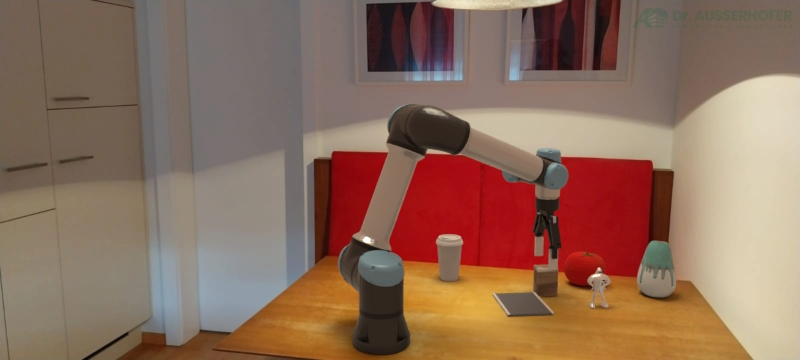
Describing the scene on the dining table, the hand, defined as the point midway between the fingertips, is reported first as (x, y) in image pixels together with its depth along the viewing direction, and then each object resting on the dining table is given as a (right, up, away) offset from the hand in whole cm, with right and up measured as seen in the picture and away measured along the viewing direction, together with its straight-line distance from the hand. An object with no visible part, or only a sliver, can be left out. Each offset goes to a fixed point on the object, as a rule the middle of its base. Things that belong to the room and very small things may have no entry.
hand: (545, 261), depth 190 cm
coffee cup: (-30, -8, +17) cm, 35 cm away
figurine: (+14, -12, -9) cm, 21 cm away
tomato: (+16, -9, +11) cm, 22 cm away
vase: (+36, -11, +1) cm, 38 cm away
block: (0, -11, +2) cm, 11 cm away
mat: (-9, -12, -8) cm, 17 cm away
